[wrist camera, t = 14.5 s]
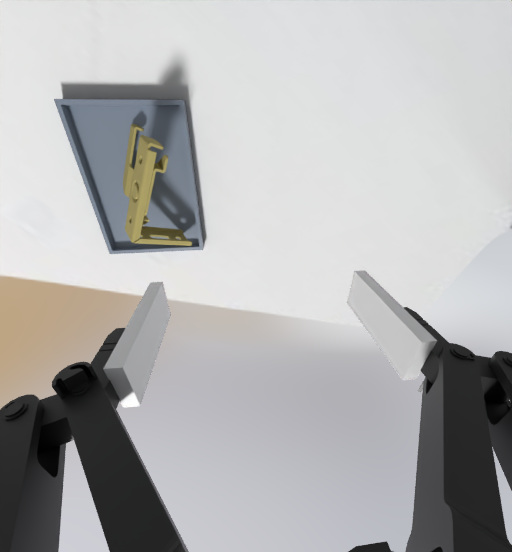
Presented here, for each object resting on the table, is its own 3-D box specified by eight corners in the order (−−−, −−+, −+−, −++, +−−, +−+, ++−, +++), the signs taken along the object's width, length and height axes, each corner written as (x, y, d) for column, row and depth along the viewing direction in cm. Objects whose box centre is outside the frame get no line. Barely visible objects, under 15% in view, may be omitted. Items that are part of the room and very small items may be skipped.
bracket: (169, 218, 48) (113, 211, 41) (188, 144, 41) (125, 120, 34) (191, 246, 42) (130, 244, 35) (217, 166, 35) (149, 143, 28)
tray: (62, 101, 33) (53, 99, 32) (185, 101, 35) (182, 99, 33) (114, 249, 45) (109, 253, 43) (204, 245, 46) (203, 249, 45)
